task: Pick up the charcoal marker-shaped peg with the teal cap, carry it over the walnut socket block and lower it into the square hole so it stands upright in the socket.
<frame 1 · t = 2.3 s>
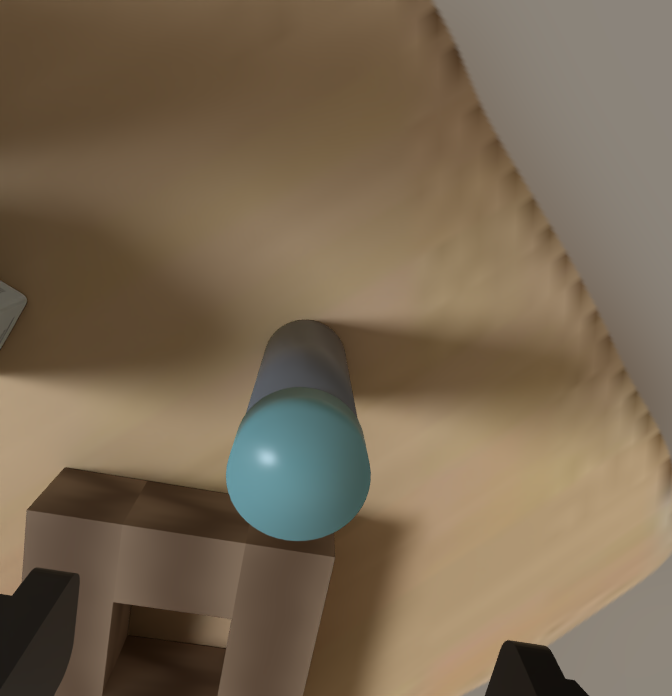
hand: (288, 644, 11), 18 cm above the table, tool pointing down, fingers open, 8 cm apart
peg: (305, 359, 28), on the table
socket: (183, 601, 32), on the table
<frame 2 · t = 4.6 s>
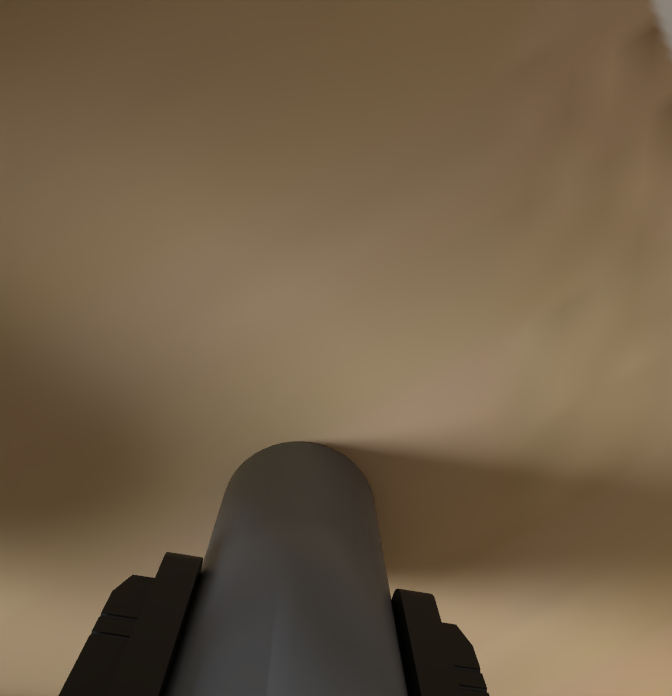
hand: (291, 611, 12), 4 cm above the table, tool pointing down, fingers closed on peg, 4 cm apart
peg: (298, 511, 15), on the table, touching gripper
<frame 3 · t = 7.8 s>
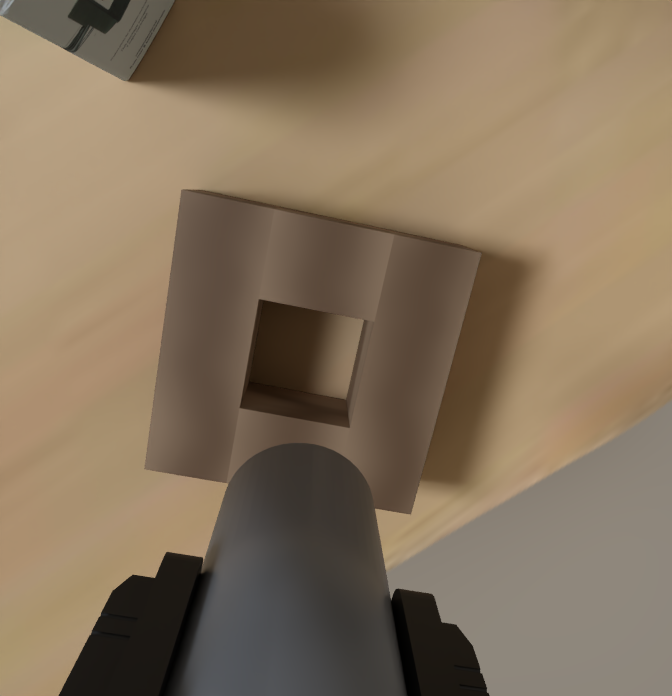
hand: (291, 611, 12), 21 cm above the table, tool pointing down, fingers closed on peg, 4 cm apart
peg: (298, 512, 15), point 17 cm above the table, touching gripper
socket: (307, 344, 32), on the table
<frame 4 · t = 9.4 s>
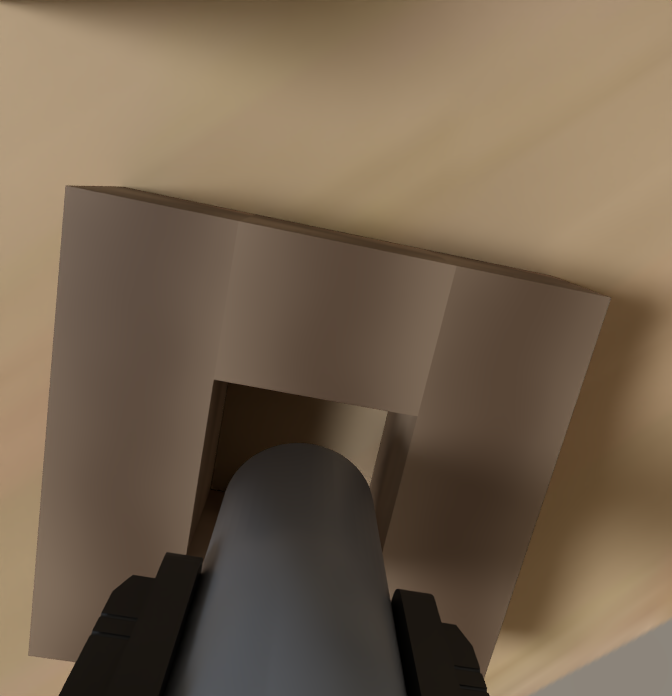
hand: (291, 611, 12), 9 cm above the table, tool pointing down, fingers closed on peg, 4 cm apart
peg: (298, 512, 15), point 5 cm above the table, touching gripper
socket: (301, 432, 20), on the table
when the fingers open (5 cm above the table, at t = 10.9 s): peg stays where it is, resting in socket.
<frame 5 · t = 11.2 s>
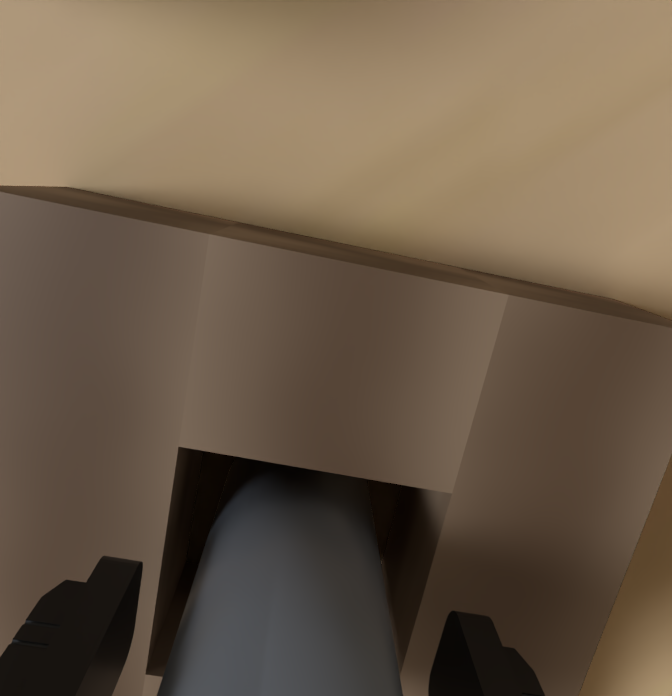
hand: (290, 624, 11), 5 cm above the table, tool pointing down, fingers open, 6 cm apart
peg: (297, 492, 16), resting in socket
socket: (298, 492, 16), on the table
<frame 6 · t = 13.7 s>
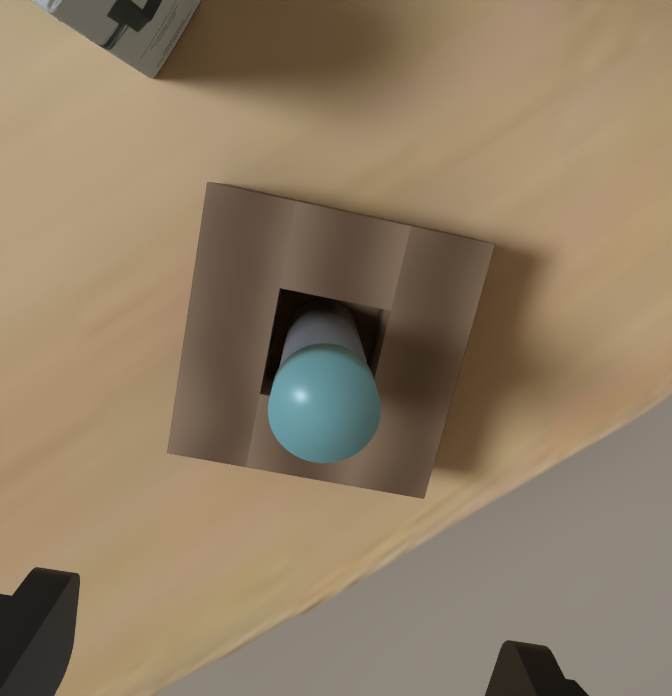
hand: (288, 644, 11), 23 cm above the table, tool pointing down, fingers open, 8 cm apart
peg: (322, 334, 33), resting in socket
socket: (323, 334, 33), on the table
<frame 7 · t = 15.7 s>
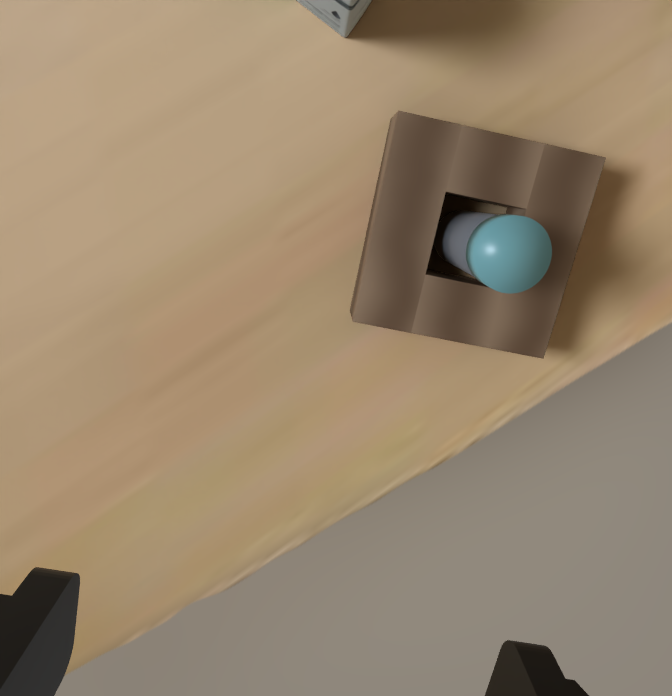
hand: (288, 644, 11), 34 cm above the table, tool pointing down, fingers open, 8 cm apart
peg: (460, 237, 43), resting in socket
socket: (461, 237, 43), on the table
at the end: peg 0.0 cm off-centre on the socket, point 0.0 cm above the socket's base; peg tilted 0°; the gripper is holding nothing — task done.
